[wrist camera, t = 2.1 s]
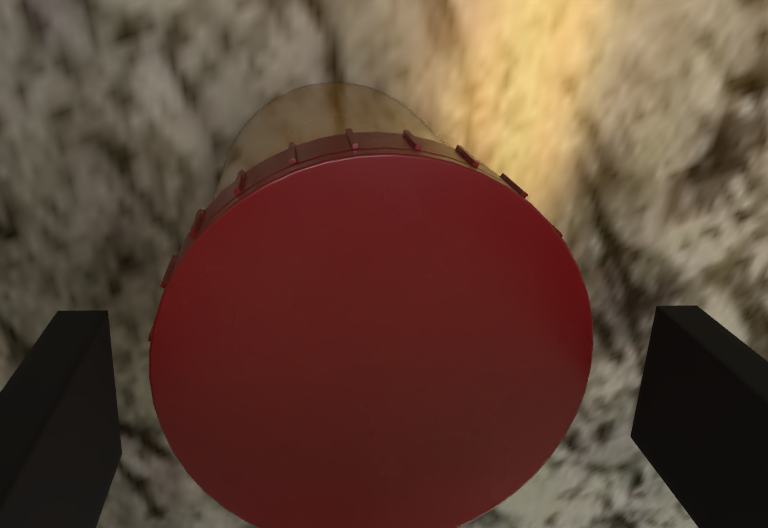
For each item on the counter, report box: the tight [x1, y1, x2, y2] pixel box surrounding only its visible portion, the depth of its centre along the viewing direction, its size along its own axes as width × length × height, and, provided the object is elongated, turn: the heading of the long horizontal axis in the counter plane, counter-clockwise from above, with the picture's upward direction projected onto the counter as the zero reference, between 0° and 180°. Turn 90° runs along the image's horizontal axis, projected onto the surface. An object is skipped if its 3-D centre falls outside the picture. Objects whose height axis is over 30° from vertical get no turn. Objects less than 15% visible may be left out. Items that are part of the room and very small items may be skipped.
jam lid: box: [149, 128, 593, 528], centre depth 13 cm, size 8×8×2 cm
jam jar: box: [213, 82, 446, 201], centre depth 18 cm, size 7×7×11 cm
